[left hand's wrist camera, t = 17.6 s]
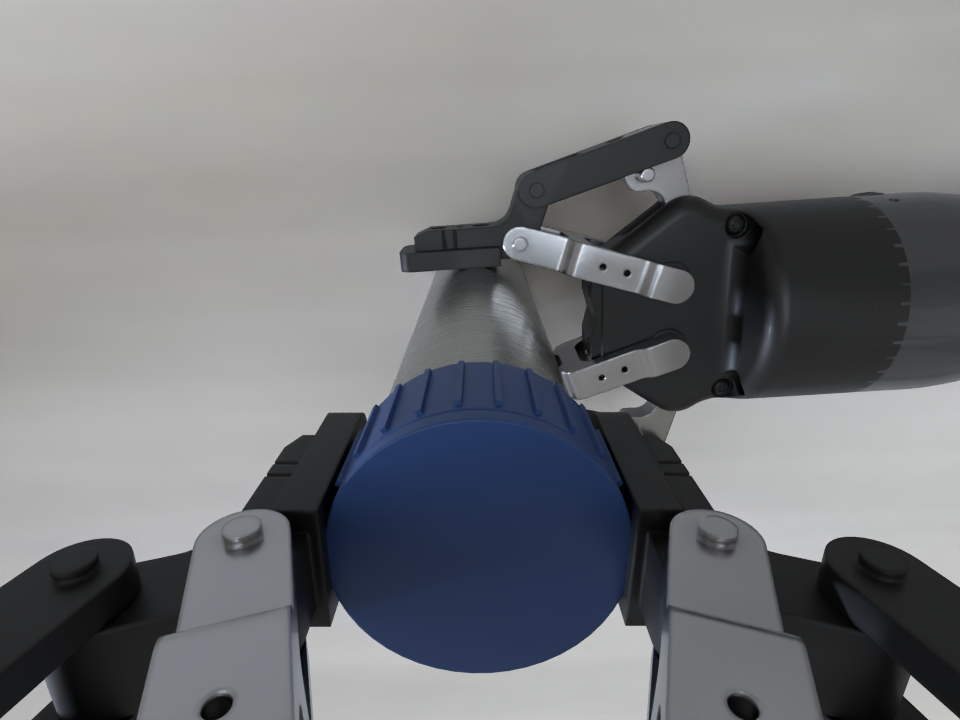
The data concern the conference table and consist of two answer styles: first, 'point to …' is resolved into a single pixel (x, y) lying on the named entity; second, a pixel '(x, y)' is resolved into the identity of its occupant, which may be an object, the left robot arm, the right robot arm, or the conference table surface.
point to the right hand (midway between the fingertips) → (412, 323)
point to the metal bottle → (480, 324)
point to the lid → (478, 521)
